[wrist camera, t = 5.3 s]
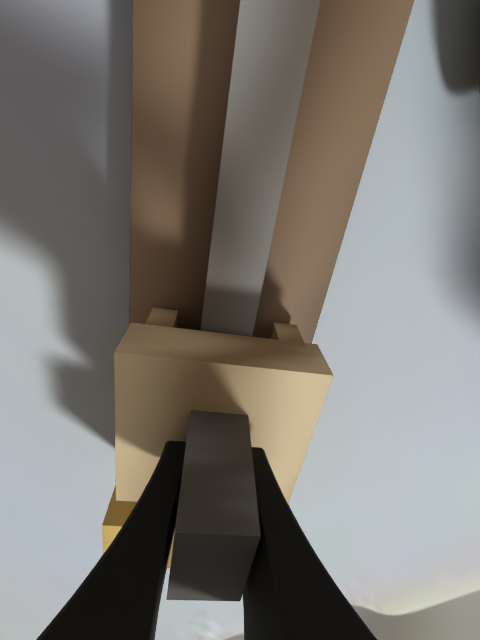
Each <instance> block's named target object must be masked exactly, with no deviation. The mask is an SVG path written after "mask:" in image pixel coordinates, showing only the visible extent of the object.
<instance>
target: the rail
mask: <svg viewBox="0 0 480 640" xmlns="http://www.w3.org/2000/svg"><path fill="white" fill-rule="evenodd" d="M413 3H414V0H133V45H132V137H131V230H130V322H129V325H130V323H139V324H145V323H146V321H147V319H148V317H149V315H150V313H151V311H152V309H153V307H155V308H163V309H171V310H178V318H177V328H182V329H190V330H199V331H207V332H216V333H224V334H233V335H241V336H250V337H258V338H267V339H270V336H271V331H272V327H273V323H274V322H276V323H284V324H292V325H297V327H298V329H299V332H300V334H301V336H302V338H303V340H304V343H309V344H311V343H312V340H313V337H314V333H315V330H316V327H317V323H318V320H319V317H320V313H321V310H322V307H323V303H324V300H325V297H326V293H327V290H328V287H329V283H330V280H331V277H332V273H333V270H334V267H335V263H336V260H337V257H338V253H339V250H340V247H341V243H342V240H343V237H344V233H345V230H346V227H347V223H348V220H349V217H350V213H351V210H352V207H353V203H354V200H355V197H356V193H357V190H358V186H359V183H360V180H361V176H362V173H363V170H364V166H365V163H366V160H367V156H368V153H369V150H370V146H371V143H372V140H373V136H374V133H375V130H376V126H377V123H378V120H379V116H380V113H381V110H382V106H383V103H384V100H385V96H386V93H387V90H388V86H389V83H390V80H391V76H392V73H393V70H394V66H395V63H396V60H397V56H398V53H399V50H400V46H401V43H402V40H403V36H404V33H405V30H406V26H407V23H408V20H409V16H410V13H411V10H412V6H413ZM136 503H137V502H136V501H117V500H116V485H115V488H114V491H113V494H112V497H111V500H110V503H109V506H108V509H107V512H106V515H105V518H104V521H103V525H102V532H103V554H104V553H105V551H106V550H107V549H108V547H109V546H110V544H111V543H112V541H113V540H114V538H115V537H116V535H117V534H118V532H119V531H120V529H121V528H122V526H123V524H124V523H125V521H126V520H127V518H128V516H129V515H130V513H131V511H132V510H133V508H134V507H135V505H136ZM174 533H175V531H174ZM173 541H174V536H173ZM173 541H172V545H171V550H170V555H169V560H168V564H167V568H170V567H171V558H172V550H173Z"/></svg>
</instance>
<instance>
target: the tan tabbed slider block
mask: <svg viewBox="0 0 480 640" xmlns="http://www.w3.org/2000/svg"><path fill="white" fill-rule="evenodd" d="M177 318H178V310H171V309H163V308H155V307H153V309H152V311H151V313H150V315H149V317H148V319H147V321H146V323H145V324H139V323H130V325H129V327H128V328H127V330H126V332H125V334H124V335H123V337H122V339H121V341H120V342H119V344H118V346H117V348H116V349H115V351H114V394H115V468H116V500H117V501H136V502H138V500H139V498H140V496H141V495H142V493H143V491H144V489H145V487H146V485H147V484H148V482H149V480H150V478H151V476H152V474H153V472H154V470H155V468H156V466H157V464H158V461H159V459H160V457H161V454H162V452H163V449H164V446H165V443H166V442H167V441H182V442H186V448H185V456H184V463H183V471H182V479H181V487H180V494H179V502H178V510H177V517H176V525H175V533H174V541H173V550H172V558H171V567H170V575H169V584H168V592H167V600H207V601H240V600H241V597H242V594H243V591H244V588H245V584H246V581H247V578H248V575H249V572H250V569H251V565H252V562H253V559H254V556H255V553H256V549H257V546H258V543H259V540H260V537H261V535H260V525H259V515H258V506H257V496H256V486H255V476H254V466H253V457H252V447H260V448H263V449H264V451H265V454H266V456H267V459H268V461H269V464H270V466H271V469H272V471H273V473H274V476H275V478H276V480H277V482H278V485H279V487H280V489H281V491H282V493H283V495H284V497H285V499H286V501H287V503H289V500H290V497H291V494H292V492H293V489H294V486H295V483H296V480H297V477H298V475H299V472H300V469H301V466H302V463H303V460H304V457H305V455H306V452H307V449H308V446H309V443H310V440H311V438H312V435H313V432H314V429H315V426H316V423H317V421H318V418H319V415H320V412H321V409H322V406H323V403H324V401H325V398H326V395H327V392H328V389H329V386H330V384H331V381H332V378H333V374H332V372H331V370H330V368H329V366H328V364H327V362H326V361H325V359H324V357H323V355H322V353H321V351H320V349H319V347H318V345H317V344H309V343H304V340H303V338H302V336H301V334H300V332H299V329H298V327H297V325H292V324H284V323H276V322H274V323H273V327H272V331H271V336H270V339H267V338H258V337H250V336H241V335H233V334H224V333H216V332H207V331H199V330H190V329H182V328H177Z"/></svg>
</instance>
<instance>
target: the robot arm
mask: <svg viewBox="0 0 480 640" xmlns="http://www.w3.org/2000/svg"><path fill="white" fill-rule="evenodd" d="M185 448H186V442H182V441H167V442H166V443H165V446H164V449H163V452H162V454H161V457H160V459H159V461H158V464H157V466H156V468H155V470H154V472H153V474H152V476H151V478H150V480H149V482H148V484H147V485H146V487H145V489H144V491H143V493H142V495H141V496H140V498H139V500H138V502H137V503H136V505H135V507H134V508H133V510H132V511H131V513H130V515H129V516H128V518H127V520H126V521H125V523H124V524H123V526H122V528H121V529H120V531H119V532H118V534H117V535H116V537H115V538H114V540H113V541H112V543H111V544H110V546H109V547H108V549H107V550H106V551H105V553H104V554H103V556H102V557H101V558H100V560H99V561H98V563H97V564H96V565H95V567H94V568H93V569H92V571H91V572H90V573H89V575H88V576H87V577H86V579H85V580H84V581H83V583H82V584H81V585H80V587H79V588H78V589H77V591H76V592H75V593H74V594H73V596H72V597H71V598H70V600H69V601H68V602H67V603H66V605H65V606H64V607H63V608H62V609H61V611H60V612H59V613H58V614H57V616H56V617H55V618H54V619H53V620H52V622H51V623H50V624H49V625H48V626H47V628H46V629H45V630H44V631H43V632H42V634H41V635H40V636H39V637H38V638H37V640H154V639H155V632H156V624H157V617H158V610H159V605H160V599H161V593H162V588H163V584H164V579H165V574H166V569H167V564H168V560H169V555H170V550H171V545H172V541H173V536H174V531H175V525H176V517H177V510H178V502H179V494H180V487H181V479H182V471H183V463H184V456H185ZM252 457H253V466H254V476H255V486H256V496H257V506H258V515H259V525H260V535H261V537H260V540H259V543H258V546H257V549H256V553H255V556H254V559H253V562H252V565H251V569H250V572H249V575H248V578H247V581H246V584H245V588H244V591H243V605H244V640H377V639H376V638H375V637H374V635H373V634H372V633H371V632H370V630H369V629H368V627H367V626H366V625H365V623H364V622H363V621H362V619H361V618H360V617H359V615H358V614H357V613H356V611H355V610H354V609H353V607H352V606H351V605H350V603H349V602H348V601H347V599H346V598H345V597H344V595H343V594H342V592H341V591H340V589H339V588H338V587H337V585H336V584H335V582H334V581H333V579H332V578H331V576H330V575H329V573H328V572H327V570H326V569H325V567H324V566H323V564H322V563H321V561H320V559H319V558H318V556H317V555H316V553H315V551H314V550H313V548H312V547H311V545H310V543H309V542H308V540H307V538H306V536H305V535H304V533H303V531H302V529H301V528H300V526H299V524H298V522H297V520H296V518H295V517H294V515H293V513H292V511H291V509H290V507H289V505H288V503H287V501H286V499H285V497H284V495H283V493H282V491H281V489H280V487H279V485H278V482H277V480H276V478H275V476H274V473H273V471H272V469H271V466H270V464H269V461H268V459H267V456H266V454H265V451H264V449H263V448H260V447H252Z"/></svg>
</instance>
